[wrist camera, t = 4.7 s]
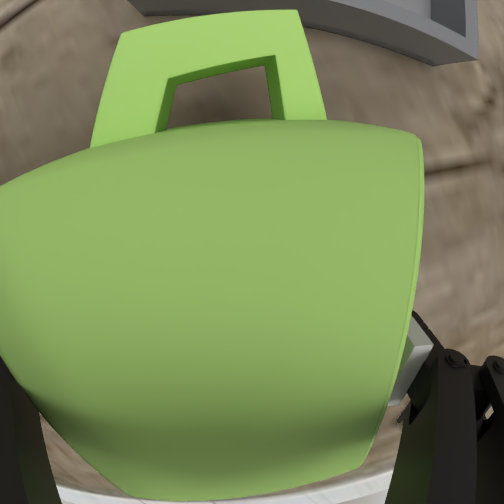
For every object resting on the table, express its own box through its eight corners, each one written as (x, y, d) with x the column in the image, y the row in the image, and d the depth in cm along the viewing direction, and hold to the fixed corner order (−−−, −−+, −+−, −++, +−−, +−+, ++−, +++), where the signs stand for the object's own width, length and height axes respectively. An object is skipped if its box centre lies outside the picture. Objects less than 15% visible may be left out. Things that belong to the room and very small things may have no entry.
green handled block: (329, 370, 19) (380, 499, 10) (176, 394, 18) (171, 531, 10) (320, 48, 11) (484, -20, 2) (87, 84, 10) (-87, 74, 2)
